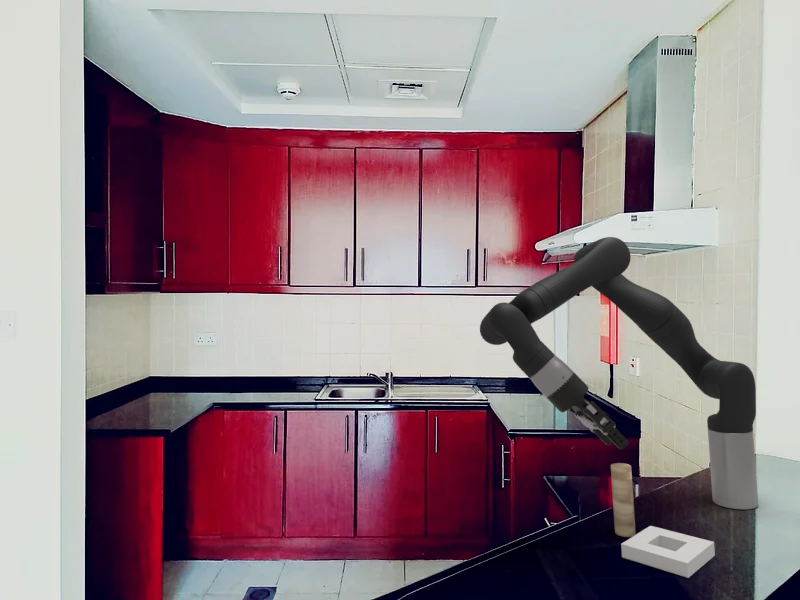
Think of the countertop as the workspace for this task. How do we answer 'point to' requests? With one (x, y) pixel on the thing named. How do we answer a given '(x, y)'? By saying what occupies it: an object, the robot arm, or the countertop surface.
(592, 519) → the countertop surface
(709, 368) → the robot arm
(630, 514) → the peg
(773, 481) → the countertop surface
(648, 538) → the socket plate
